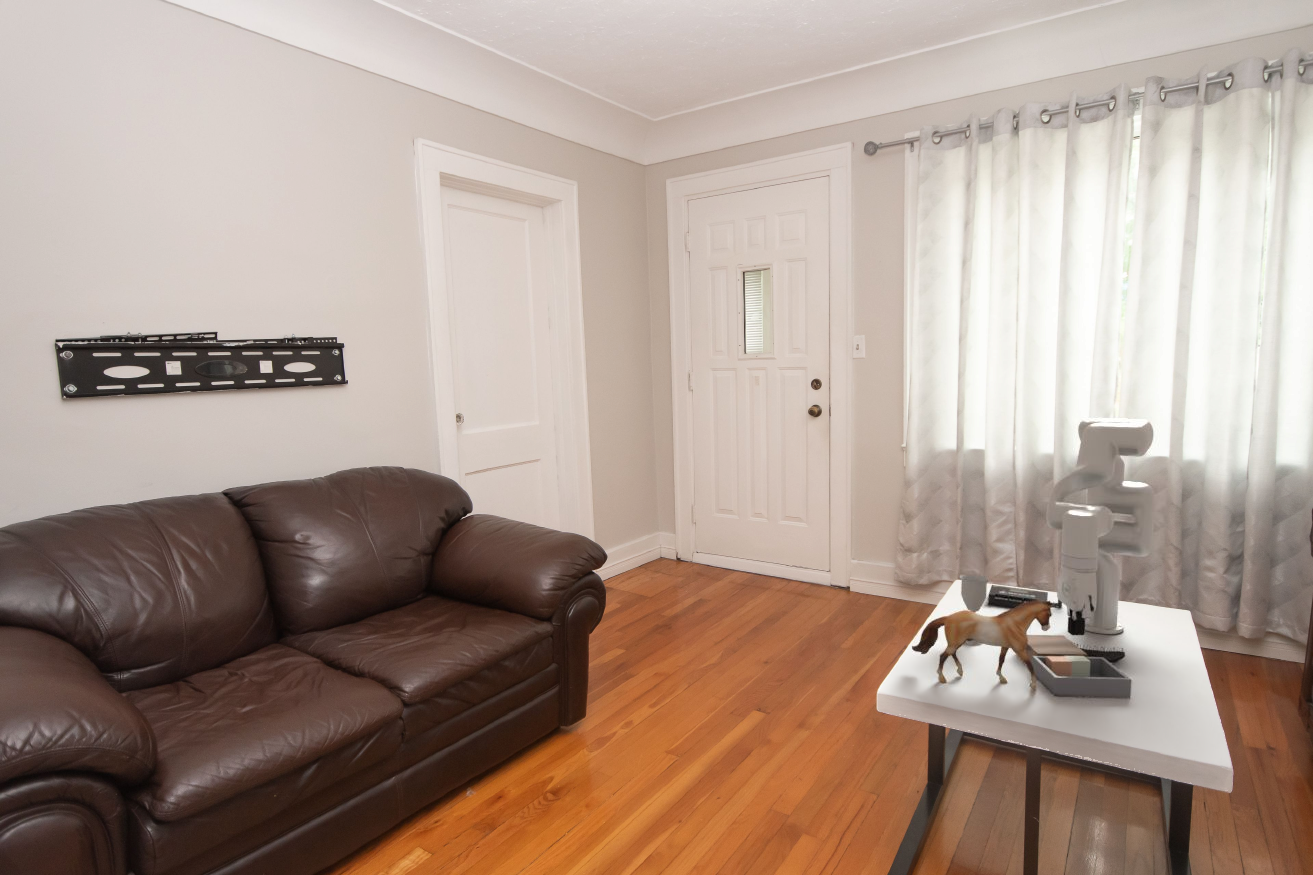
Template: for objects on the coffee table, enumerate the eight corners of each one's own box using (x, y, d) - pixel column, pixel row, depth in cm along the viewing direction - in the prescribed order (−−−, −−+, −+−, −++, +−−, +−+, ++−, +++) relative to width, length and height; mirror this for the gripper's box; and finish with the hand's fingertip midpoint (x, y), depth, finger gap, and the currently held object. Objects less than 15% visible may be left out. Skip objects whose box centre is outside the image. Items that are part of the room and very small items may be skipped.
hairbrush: (1019, 627, 196) (1127, 644, 180) (1020, 640, 196) (1127, 658, 180) (1012, 636, 190) (1122, 655, 174) (1012, 650, 190) (1122, 670, 174)
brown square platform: (1017, 652, 185) (1017, 634, 184) (1062, 653, 184) (1063, 635, 183) (1037, 672, 173) (1038, 653, 173) (1086, 673, 172) (1087, 654, 172)
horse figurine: (1049, 682, 168) (1052, 599, 166) (1057, 697, 161) (1061, 610, 158) (911, 667, 177) (912, 588, 175) (912, 681, 170) (914, 598, 168)
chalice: (957, 644, 191) (959, 580, 189) (957, 635, 197) (959, 573, 195) (987, 648, 188) (989, 582, 186) (986, 638, 195) (988, 575, 193)
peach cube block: (1045, 656, 171) (1052, 661, 168) (1065, 656, 170) (1071, 661, 167) (1045, 673, 171) (1051, 679, 168) (1064, 673, 171) (1070, 679, 168)
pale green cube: (1064, 655, 171) (1070, 660, 168) (1083, 655, 170) (1090, 661, 168) (1063, 673, 171) (1070, 678, 168) (1082, 673, 171) (1089, 679, 168)
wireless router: (987, 607, 220) (989, 554, 218) (992, 594, 232) (993, 543, 230) (1061, 618, 210) (1064, 562, 208) (1062, 604, 221) (1064, 551, 220)
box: (1031, 673, 173) (1032, 655, 172) (1102, 674, 171) (1103, 657, 171) (1054, 696, 161) (1055, 677, 161) (1130, 698, 160) (1131, 679, 159)
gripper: (1048, 552, 177) (1046, 621, 180) (1078, 571, 162) (1074, 647, 165) (1079, 552, 176) (1076, 621, 179) (1112, 571, 162) (1108, 647, 164)
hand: (1075, 633), depth 172 cm, fingers closed
